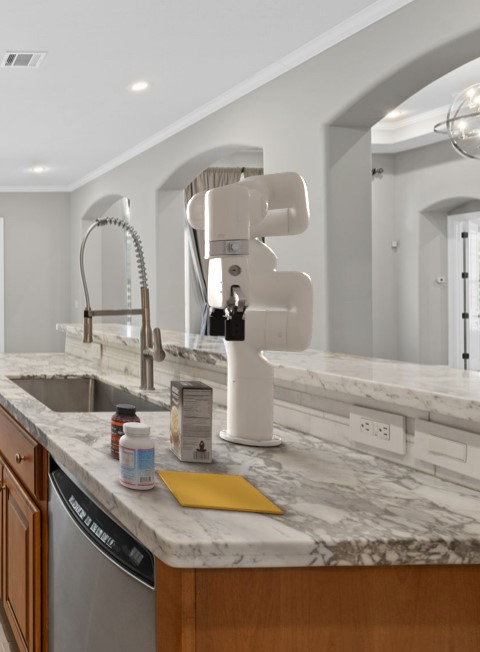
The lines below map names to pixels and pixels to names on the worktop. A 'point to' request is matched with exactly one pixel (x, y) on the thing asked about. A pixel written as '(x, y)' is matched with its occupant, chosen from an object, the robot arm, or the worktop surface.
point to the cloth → (216, 492)
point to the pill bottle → (137, 457)
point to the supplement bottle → (121, 425)
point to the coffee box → (191, 421)
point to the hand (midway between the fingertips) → (226, 338)
